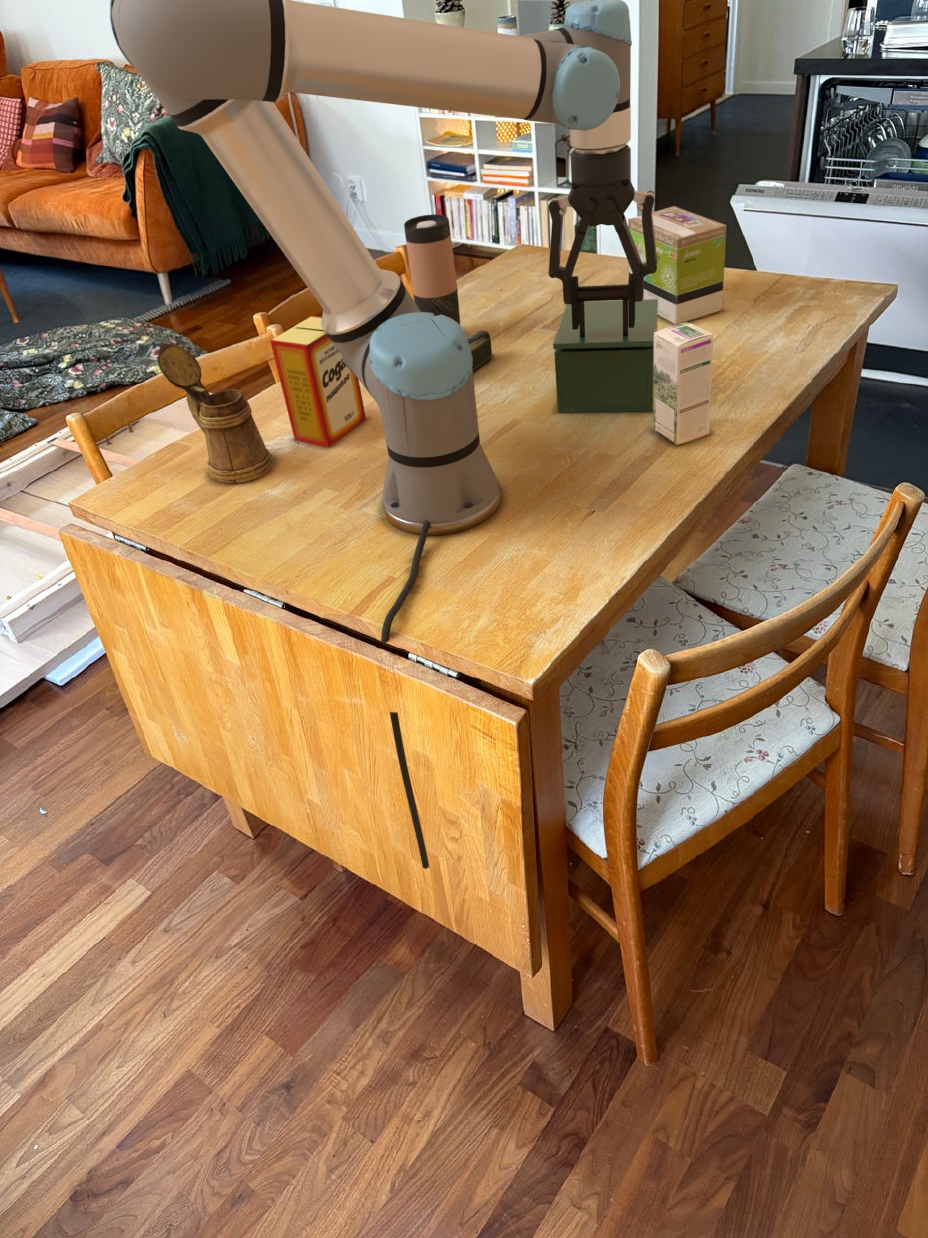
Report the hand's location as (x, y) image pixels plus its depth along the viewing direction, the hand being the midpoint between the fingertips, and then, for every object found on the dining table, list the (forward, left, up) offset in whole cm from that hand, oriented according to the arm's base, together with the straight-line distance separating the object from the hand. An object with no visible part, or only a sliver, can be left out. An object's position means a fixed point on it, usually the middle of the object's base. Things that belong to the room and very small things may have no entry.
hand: (603, 324), depth 134 cm
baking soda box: (-6, +41, -13) cm, 43 cm away
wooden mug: (-17, +53, -13) cm, 57 cm away
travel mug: (+28, +31, -13) cm, 43 cm away
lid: (+6, 0, -3) cm, 7 cm away
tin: (+7, 0, -12) cm, 14 cm away
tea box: (+39, -9, -13) cm, 42 cm away
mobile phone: (+13, +24, -13) cm, 30 cm away
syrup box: (-8, -11, -13) cm, 19 cm away
